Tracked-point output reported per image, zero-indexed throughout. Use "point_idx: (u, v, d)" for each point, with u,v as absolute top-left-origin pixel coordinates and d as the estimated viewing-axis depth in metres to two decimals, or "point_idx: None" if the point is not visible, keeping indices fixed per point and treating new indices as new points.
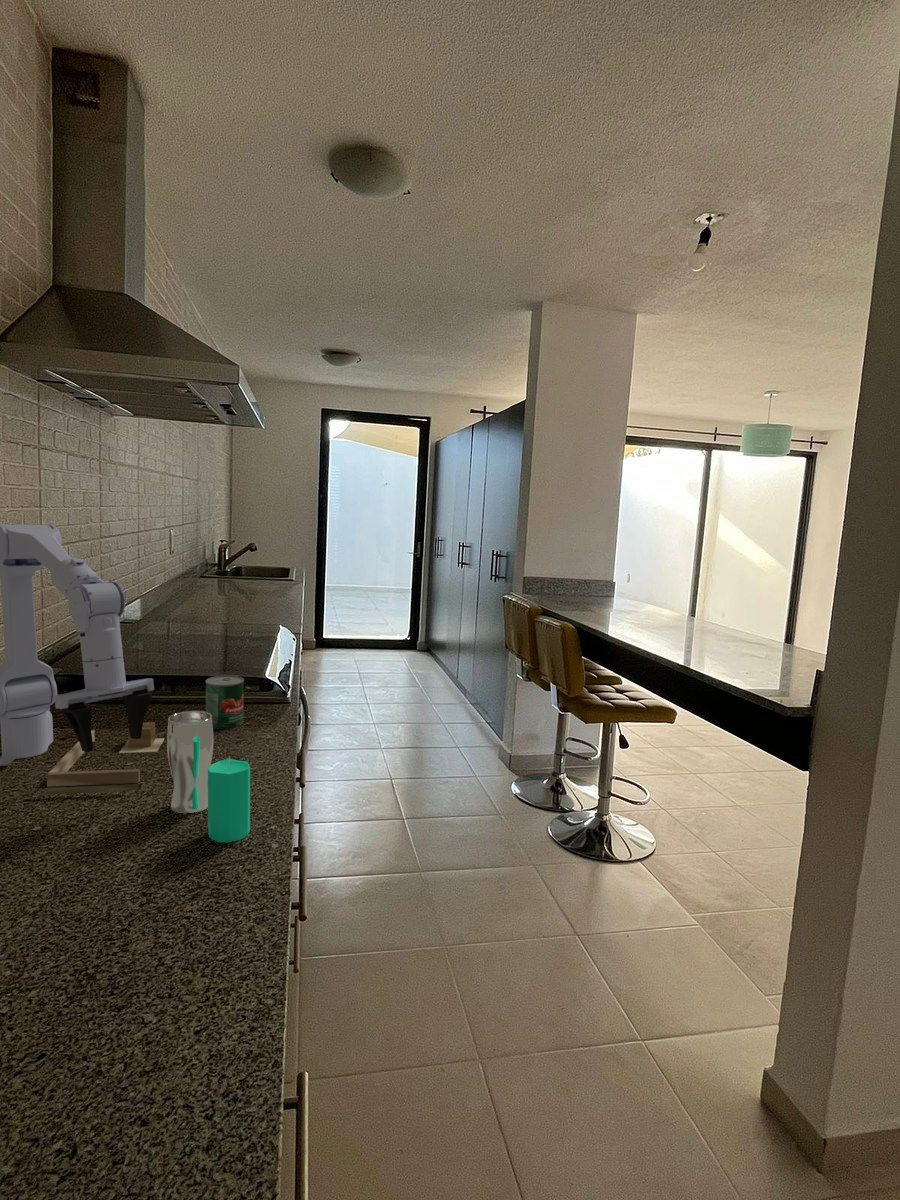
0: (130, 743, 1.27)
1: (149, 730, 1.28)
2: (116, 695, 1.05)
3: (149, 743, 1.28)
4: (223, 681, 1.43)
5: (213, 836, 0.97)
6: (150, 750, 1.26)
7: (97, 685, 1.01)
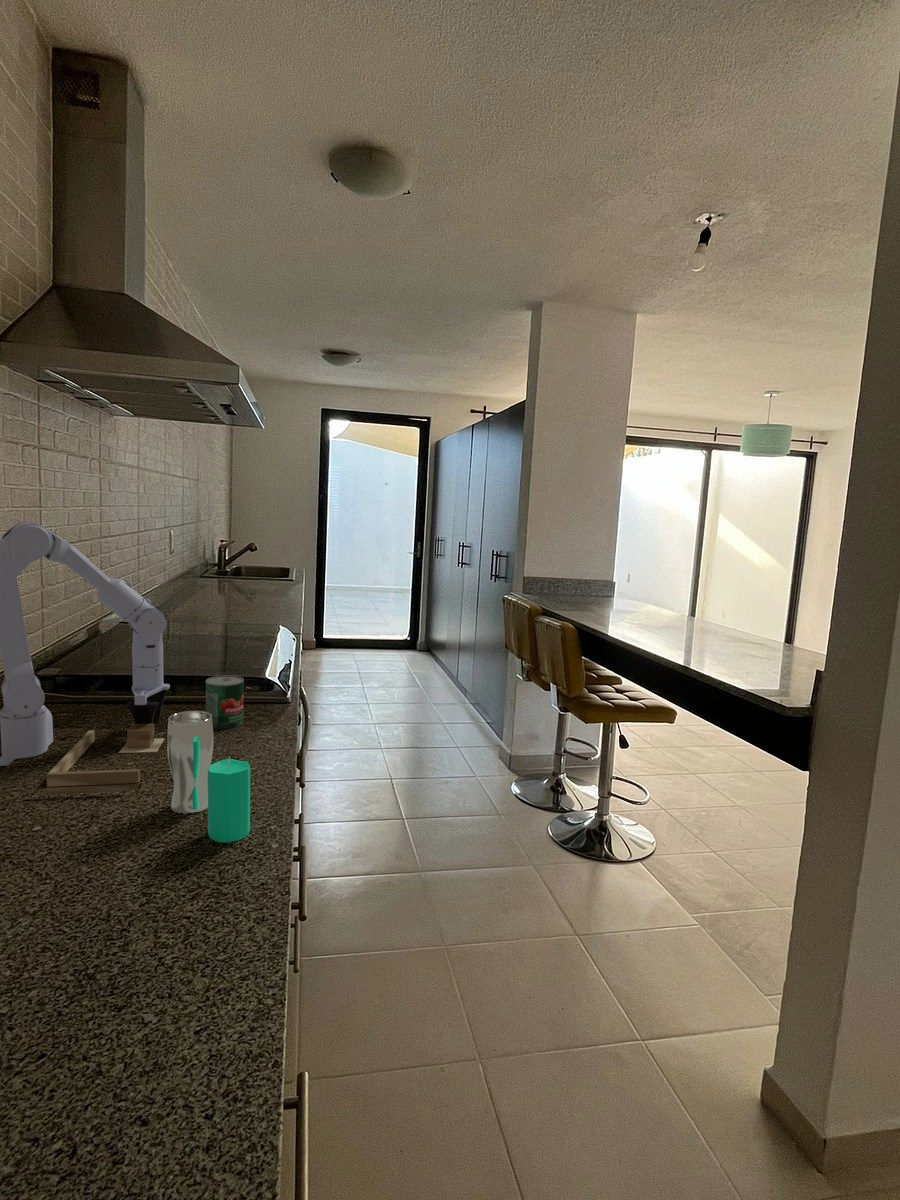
0: (129, 745, 1.27)
1: (148, 731, 1.27)
2: None
3: (148, 744, 1.27)
4: (223, 681, 1.43)
5: (213, 836, 0.97)
6: (150, 750, 1.26)
7: (155, 684, 1.33)
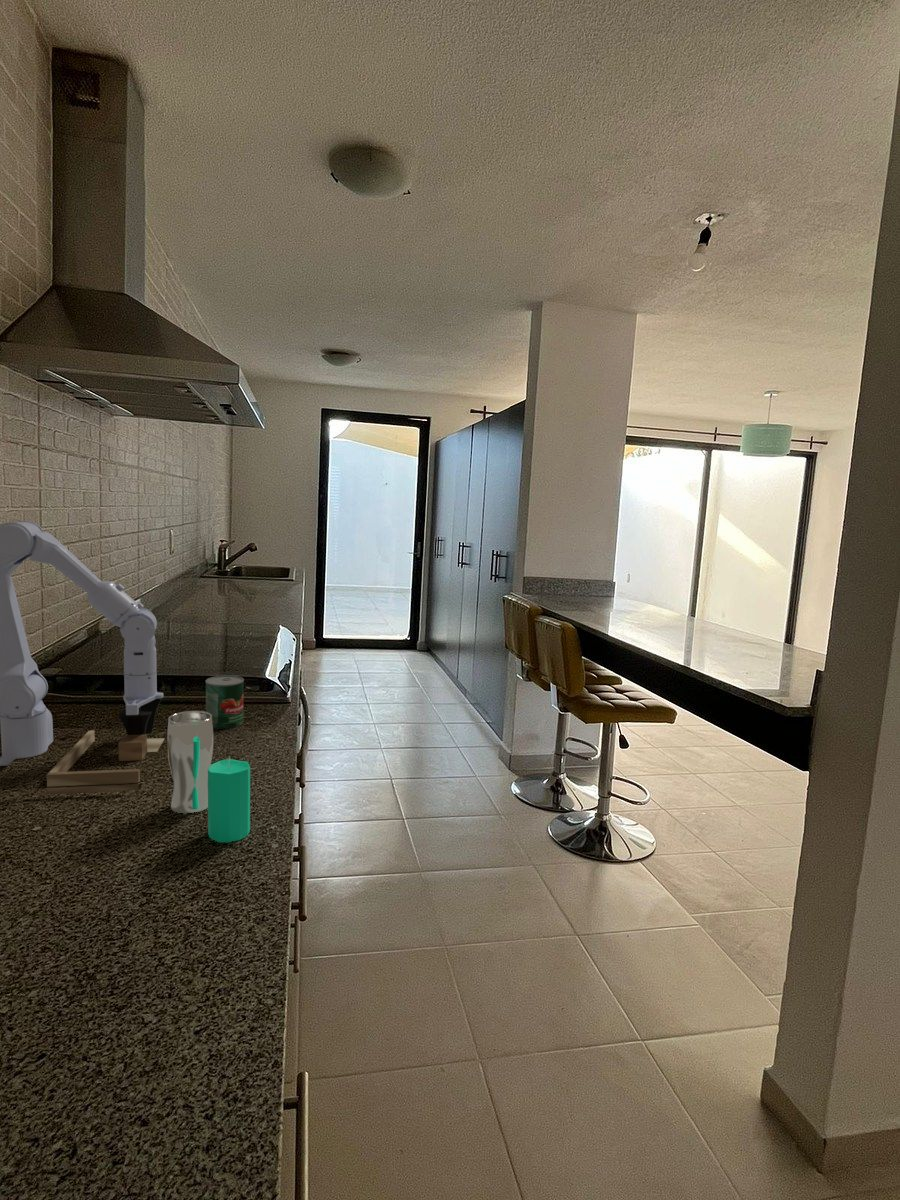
0: (121, 757, 1.21)
1: (140, 743, 1.21)
2: None
3: (141, 757, 1.21)
4: (223, 681, 1.43)
5: (213, 836, 0.97)
6: (150, 750, 1.26)
7: (148, 693, 1.26)
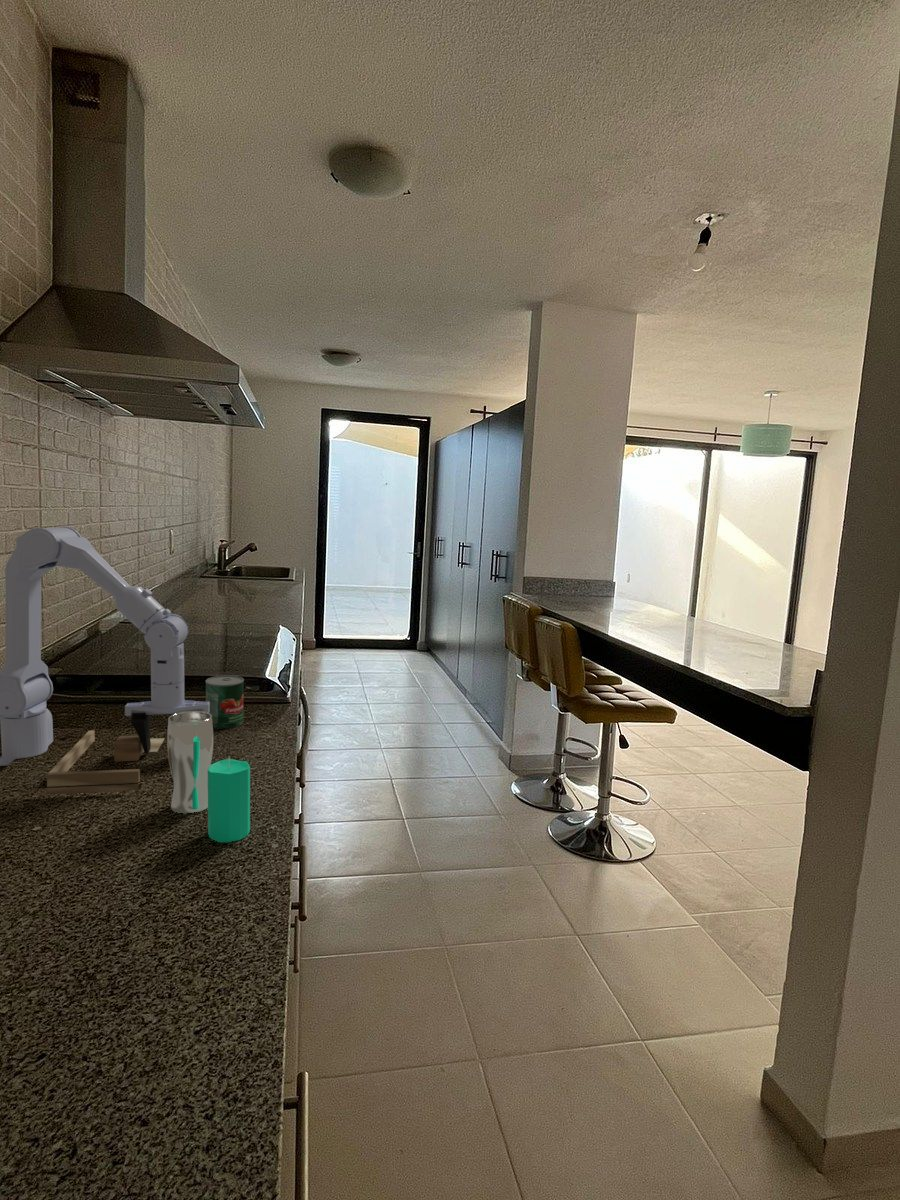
0: (116, 758, 1.20)
1: (136, 744, 1.21)
2: None
3: (136, 757, 1.21)
4: (223, 681, 1.43)
5: (213, 836, 0.97)
6: (150, 750, 1.26)
7: None
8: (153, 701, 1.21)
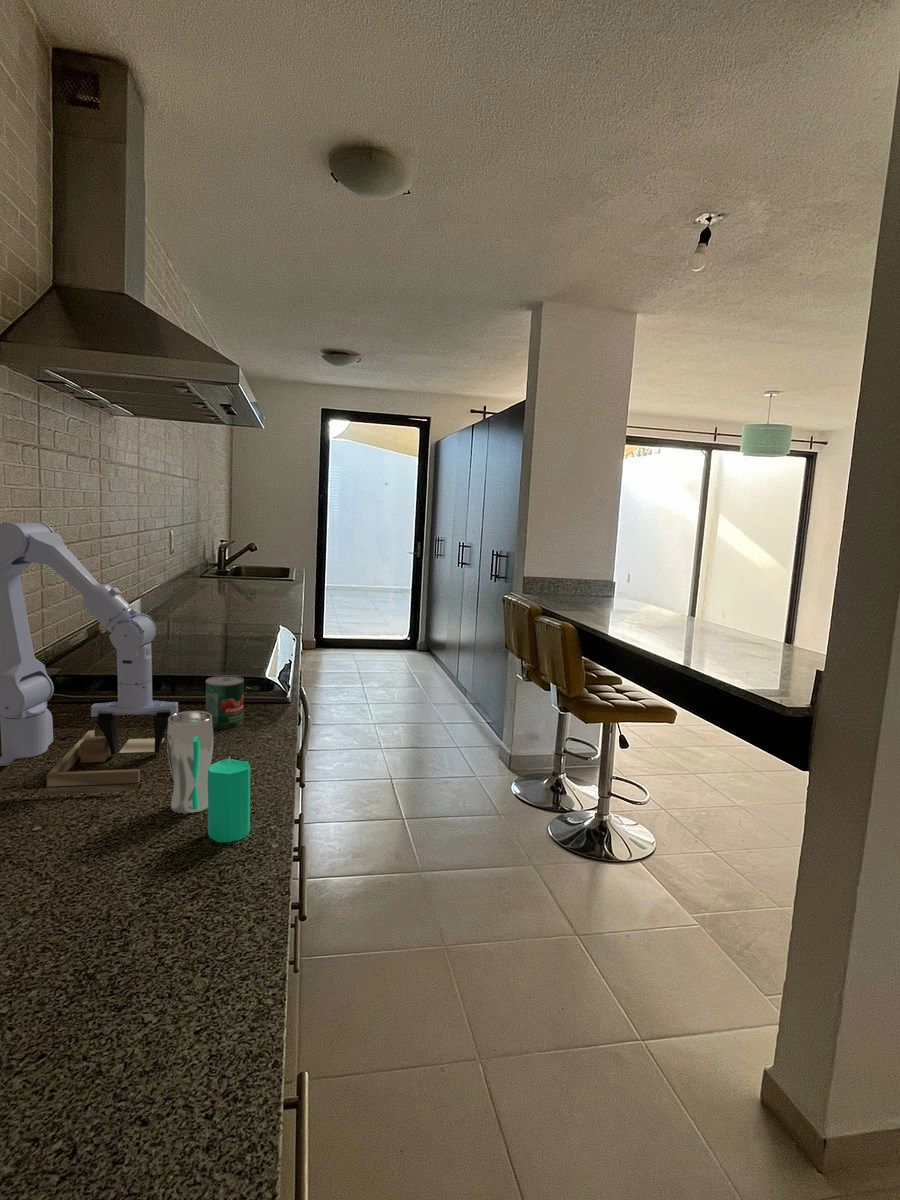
0: (82, 759, 1.19)
1: (103, 745, 1.20)
2: None
3: (103, 759, 1.20)
4: (223, 681, 1.43)
5: (213, 836, 0.97)
6: (150, 750, 1.26)
7: None
8: (120, 701, 1.19)
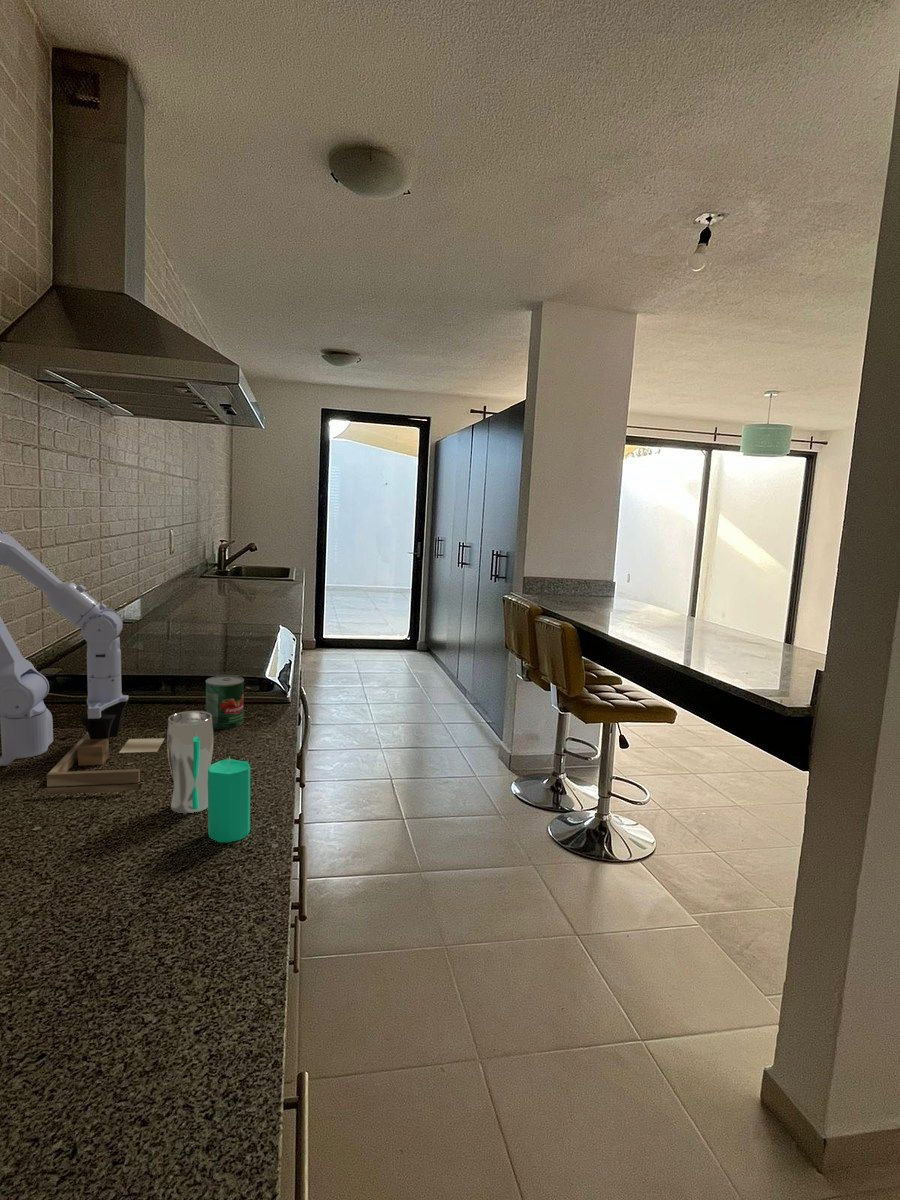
0: (80, 762, 1.18)
1: (101, 748, 1.18)
2: None
3: (101, 762, 1.19)
4: (223, 681, 1.43)
5: (213, 836, 0.97)
6: (150, 750, 1.26)
7: (112, 696, 1.24)
8: None
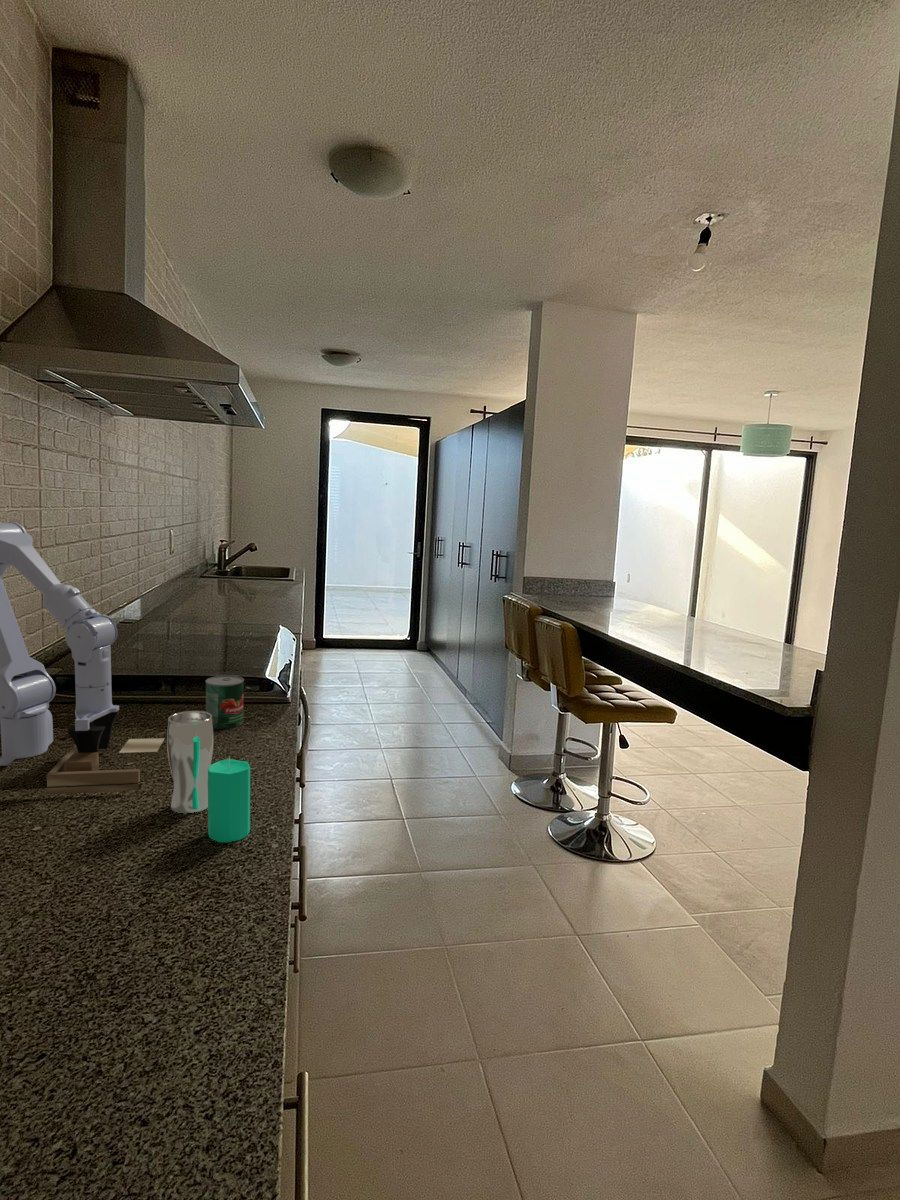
0: None
1: (90, 763, 1.12)
2: None
3: None
4: (223, 681, 1.43)
5: (213, 836, 0.97)
6: (150, 750, 1.26)
7: (101, 706, 1.17)
8: None
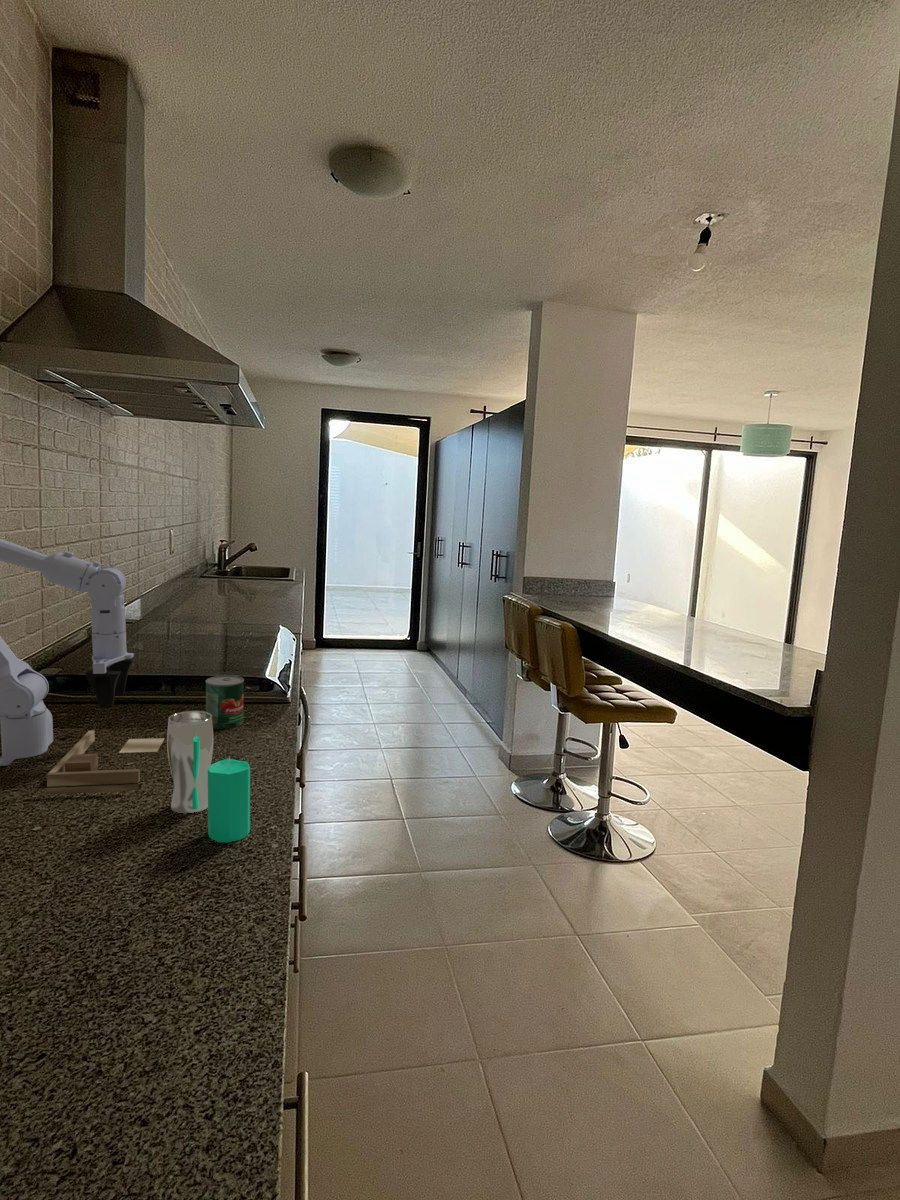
0: None
1: (89, 764, 1.11)
2: None
3: None
4: (223, 681, 1.43)
5: (213, 836, 0.97)
6: (150, 750, 1.26)
7: (117, 652, 1.23)
8: None
